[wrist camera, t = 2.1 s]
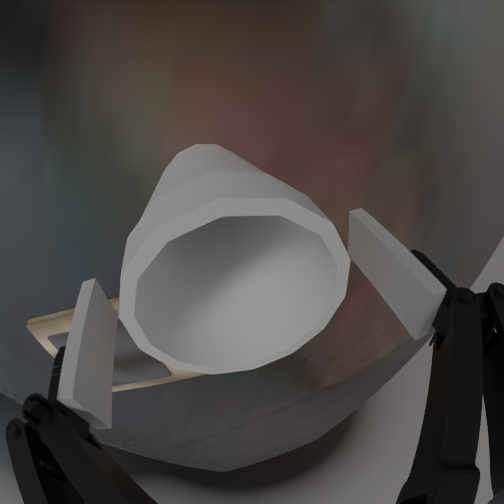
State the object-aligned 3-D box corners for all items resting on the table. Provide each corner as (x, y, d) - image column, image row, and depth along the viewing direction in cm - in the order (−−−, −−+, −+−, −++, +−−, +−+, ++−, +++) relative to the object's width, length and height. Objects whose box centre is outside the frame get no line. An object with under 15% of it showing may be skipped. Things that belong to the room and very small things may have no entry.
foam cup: (176, 253, 24) (190, 391, 14) (120, 160, 19) (67, 275, 8) (279, 207, 24) (357, 322, 14) (241, 103, 19) (331, 152, 8)
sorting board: (28, 319, 24) (25, 329, 23) (288, 251, 27) (293, 260, 26) (92, 388, 33) (92, 396, 32) (294, 342, 36) (298, 351, 35)
